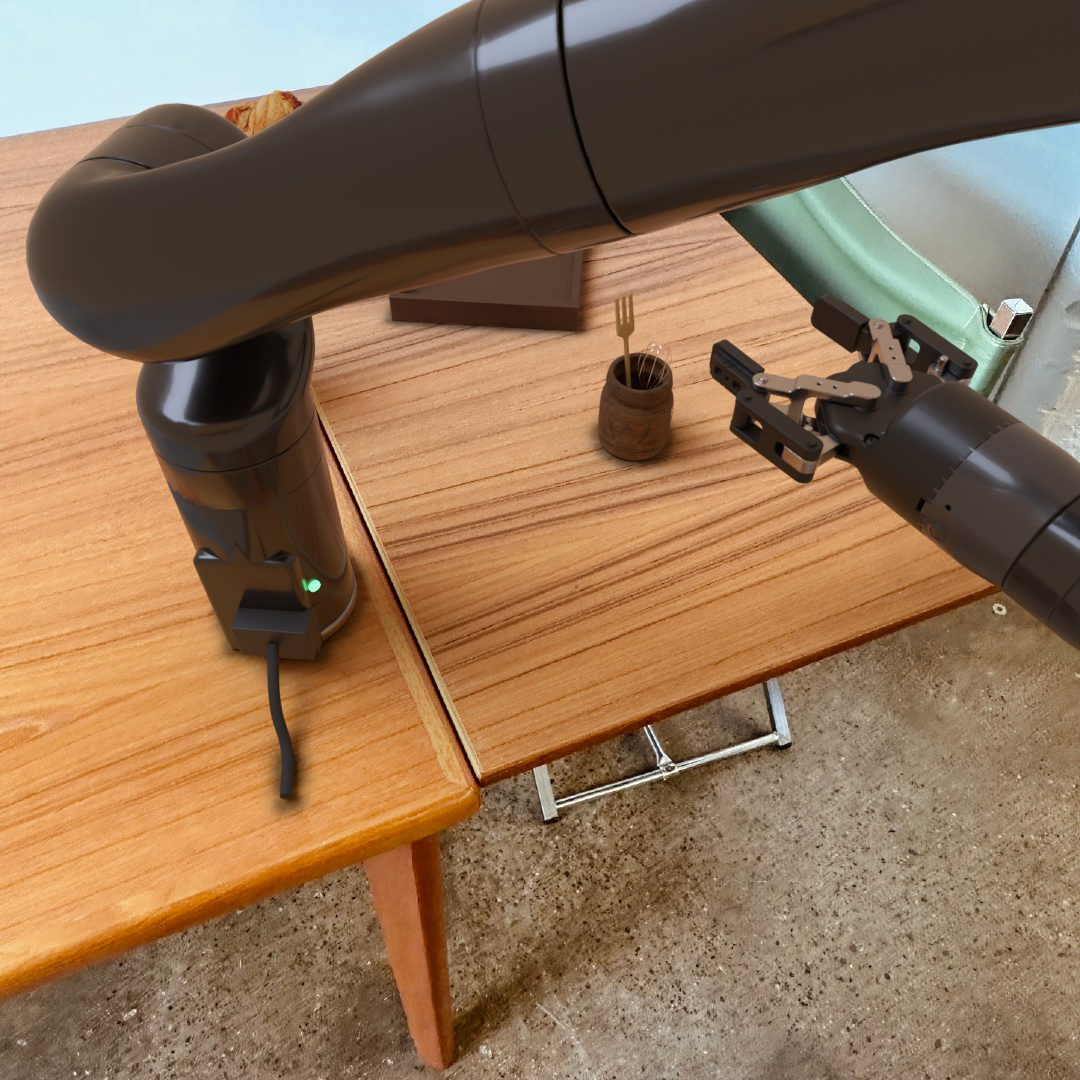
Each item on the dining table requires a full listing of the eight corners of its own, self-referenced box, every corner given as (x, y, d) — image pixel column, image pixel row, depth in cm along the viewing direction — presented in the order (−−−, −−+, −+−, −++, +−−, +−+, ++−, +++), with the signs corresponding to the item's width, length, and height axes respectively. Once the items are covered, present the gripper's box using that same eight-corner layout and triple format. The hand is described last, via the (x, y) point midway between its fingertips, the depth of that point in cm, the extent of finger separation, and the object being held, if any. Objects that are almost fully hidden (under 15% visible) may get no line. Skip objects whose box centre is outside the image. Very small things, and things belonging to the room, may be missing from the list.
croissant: (192, 190, 108) (166, 147, 100) (195, 116, 110) (170, 68, 102) (372, 184, 108) (360, 141, 101) (371, 111, 111) (359, 63, 103)
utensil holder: (621, 472, 73) (636, 352, 64) (581, 426, 77) (589, 306, 68) (682, 448, 75) (704, 328, 66) (640, 404, 79) (655, 284, 70)
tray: (577, 331, 86) (578, 307, 84) (391, 320, 86) (388, 297, 84) (586, 211, 100) (587, 189, 98) (427, 203, 100) (425, 180, 98)
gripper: (1094, 381, 48) (863, 241, 57) (909, 489, 43) (686, 316, 51) (1035, 482, 53) (833, 340, 62) (865, 588, 48) (671, 417, 57)
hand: (767, 329), depth 57 cm, fingers open, 8 cm apart
